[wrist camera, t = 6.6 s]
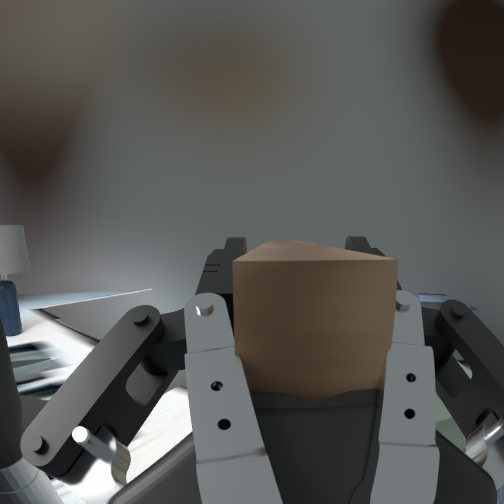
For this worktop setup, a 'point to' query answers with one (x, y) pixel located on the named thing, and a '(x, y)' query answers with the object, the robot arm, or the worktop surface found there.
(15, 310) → the lamp
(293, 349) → the tan cardboard block
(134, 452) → the worktop surface
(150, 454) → the worktop surface
